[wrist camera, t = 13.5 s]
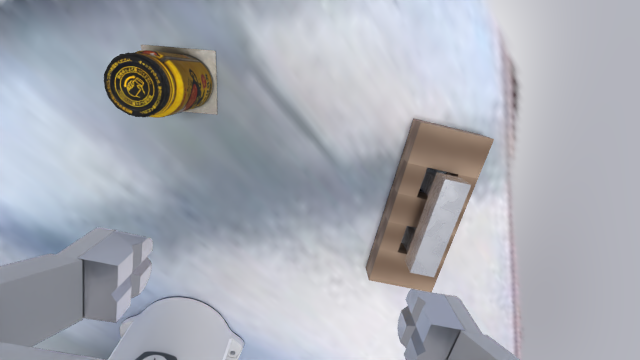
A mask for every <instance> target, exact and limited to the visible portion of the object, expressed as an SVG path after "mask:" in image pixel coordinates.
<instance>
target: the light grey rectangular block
mask: <svg viewBox="0 0 640 360" xmlns="http://www.w3.org/2000/svg"><path fill="white" fill-rule="evenodd" d="M470 187H471V184H469V183H468V182H467V181H465V180H464V179H462V178H460V177H455V176H451V175H447V174H443V173H442V172H441V171H437V170H433V169H428V168H427V170H426V173H425V176H424V179H423V181H422V184H421V187H420V188H421V189H422V190H423V191H424V192H425V193H426V194H427V195H428V198H427V201H426V204H425V206H424V209H423V212H422V215H421V217H420V220H419V223H418V226H417V228H415V227H410V226H407V227H406V230H405V233H404V235H403V238H402V243H403V245H404V247H405V249H406V251H407V256H406V259H405V263H406V265H407V267H408V269H409V271H410V273H415V274H420V275H425V276H430V277H434V276H435V274H436V271H437V269H438V266H439V264H440V262H441V259H442V257H443V254H444V252H445V249H446V247H447V244H448V242H449V239H450V237H451V234H452V232H453V229H454V227H455V224H456V222H457V219H458V217H459V215H460V212H461V210H462V207H463V205H464V202H465V200H466V197H467V195H468V192H469V190H470Z"/></svg>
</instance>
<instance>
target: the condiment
mask: <svg viewBox="0 0 640 360" xmlns="http://www.w3.org/2000/svg"><path fill="white" fill-rule="evenodd" d="M141 48H142V51H138V52H135V53H126V54H120V55H119V56H117V57H115V58H114V59H113V60H112V61H111V63H110V64H109V65H108V67H107V69H106V71H105V74H104V83H105V89H106V92H107V95H108V97H109V99H110V100H111V101H112V102H113V104H114V105H115V106H116V107H117V108H118V109H120V110H122V111H123V112H125V113H127V114H128V115H132V116H135V117H165V116H169V115H173V114H176V113H179V112H192V113H205V114H217V78H216V51H211V50H199V49H187V48H175V47H164V46H151V45H141Z"/></svg>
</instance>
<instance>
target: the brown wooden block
mask: <svg viewBox="0 0 640 360" xmlns="http://www.w3.org/2000/svg"><path fill="white" fill-rule="evenodd" d="M493 140H494V139H491V138H489V137H486V136H483V135H480V134H476V133H471V132H467V131H463V130H459V129H455V128H451V127H446V126H442V125H438V124H434V123H430V122H425V121H421V120H417V119H413V122H412V125H411V129H410V132H409V135H408V138H407V141H406V144H405V147H404V150H403V153H402V157H401V160H400V163H399V166H398V169H397V172H396V175H395V178H394V181H393V185H392V188H391V191H390V194H389V197H388V200H387V203H386V206H385V209H384V212H383V216H382V219H381V222H380V225H379V228H378V231H377V234H376V237H375V240H374V244H373V247H372V250H371V253H370V256H369V259H368V262H367V265H366V270H367V274H368V278H369V280H371V281H376V282H381V283H386V284H391V285H397V286H402V287H407V288H412V289H417V290H422V291H427V292H432V290H433V287H434V285H435V282H436V280H437V277H438V275H439V273H440V270H441V268H442V265H443V263H444V260H445V258H446V255H447V253H448V251H449V248H450V246H451V243H452V241H453V238H454V236H455V233H456V231H457V228H458V226H459V224H460V221H461V219H462V216H463V214H464V211H465V209H466V206H467V204H468V202H469V199H470V197H471V194H472V192H473V189H474V187H475V184H476V182H477V180H478V177H479V175H480V172H481V170H482V167H483V165H484V162H485V160H486V158H487V155H488V153H489V150H490V148H491V145H492V143H493ZM427 167H428V168H432V169H437V170H441V171H446V172H447V175H451V176H455V177H460V178H462V179H464V180H465V181H467V182H468V183H469V184H471V187H470V190H469V192H468V195H467V197H466V200H465V202H464V205H463V207H462V210H461V212H460V215H459V217H458V219H457V222H456V224H455V227H454V229H453V232H452V234H451V237H450V239H449V242H448V244H447V247H446V249H445V252H444V254H443V257H442V259H441V262H440V264H439V266H438V269H437V271H436V274H435V276H434V277H430V276H425V275H420V274H415V273H410V271H409V269H408V267H407V265H406V263H405V259H406V256H407V251H406V249H405V247H404V245H403V243H401V241H402V238H403V235H404V233H405V230H406V227H407V226H410V227H415V228H417V226H418V223H419V220H420V217H421V215H422V212H423V209H424V206H425V204H426V201H427V198H428V195H427V194H426V193H425V192H420V191H419V190H420V187H421V184H422V181H423V179H424V176H425V173H426V170H427Z"/></svg>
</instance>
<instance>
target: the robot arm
mask: <svg viewBox="0 0 640 360" xmlns="http://www.w3.org/2000/svg"><path fill="white" fill-rule="evenodd" d="M152 251H153V240H152V239H151V238H150V237H145V236H140V235H136V234H131V233H126V232H122V231H116V230H113V229H107V228H102V227H99V228H95V229H93V230H92V231H90V232H89V233H87V234H86V235H84V236H83V237H82V238H80V239H79V240H77V241H76V242H74V243H73V244H71V245H70V246H68V247H67V248H65V249H64V250H62V251H61V252H59V253H58V254H56V255H54V254H47V255H43V256H39V257H35V258H31V259H27V260H23V261H19V262H14V263H10V264H6V265H2V266H0V360H106V359H100V358H94V357H88V356H81V355H75V354H69V353H63V352H57V351H51V350H45V349H40V348H34V347H32V346H34V345H36V344H38V343H40V342H42V341H44V340H46V339H47V338H49V337H51V336H53V335H55V334H57V333H59V332H61V331H62V330H64V329H66V328H68V327H70V326H72V325H74V324H76V323H77V322H79V321H81V320H83V318H86V319H93V320H100V321H107V322H114V323H116V322H117V321H118V320H119V319H120V318H121V316H122V315H123V314H124V313H125V312H126V310H127V309H128V308H129V307H130V305H131V298H133V297H135V296H138V295H139V294H140V293H141V292H142V291H143V289H144V288H145V286H146V284H147V282H148V280H149V277H150V273H151V266H152V263H151V262H150V260H149V258H148V257H147V256H148V255H149V254H150V253H151V252H152ZM406 302H407V304H408V306H407V307H406V308H404V309H403V310H402V311H401V313H400V316H399V319H398V336H399V339H400V342H401V343H402V344H403V345H404V346H405V347H406V351H405V353H404V356H405V359H406V360H520V359H518V358H517V357H516V356H514V355H513V354H512V353H510V352H509V351H508V350H506V349H505V348H504V347H503V346H501V345H500V344H499V343H497V342H496V341H495V340H493V339H492V338H491V337H489V336H488V335H483V334H482V332H481V331H480V329H479V328H478V326H477V324H476V323H475V321H474V320H473V318H472V317H471V315H470V314H469V312H468V310H467V309H466V307H465V306H464V304H463V303H462V301H461V300H460V299H459V298H458V297H457V296H451V295H445V294H437V293H431V292H426V291H420V290H414V289H411V290H410V291H409V293H408V295H407V297H406ZM120 334H121V340H120V341H119V343H118V344H117V346H116V347H115V349H114V351H113V352H112V354H111V355H110V357H109V358H108V360H238V358H239V356H240V354H241V352H242V350H243V347H244V342H243V340H242V339H241V338H240V337H238V336H237V335H236V334H234V333H233V332H232V331H231V330H230V329H229V327H228V325H227V324H226V322H225V321H224V319H223V318H222V317H221V315H220V314H219V313H218V312H216V311H215V310H214V309H213V308H211V307H210V306H208V305H206V304H204V303H202V302H199V301H196V300H193V299H189V298H181V297H174V298H166V299H162V300H159V301H157V302H155V303H153V304H151V305H150V306H148V307H147V308H146V309H145V310H144V311H143V312H142V313H140V314H139V315H137V316H133V317H130V318H128V319H126V320H124V321H123V323H122V324H121V326H120Z"/></svg>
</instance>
